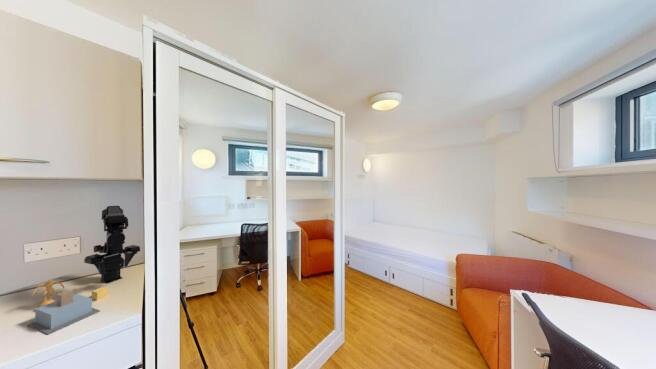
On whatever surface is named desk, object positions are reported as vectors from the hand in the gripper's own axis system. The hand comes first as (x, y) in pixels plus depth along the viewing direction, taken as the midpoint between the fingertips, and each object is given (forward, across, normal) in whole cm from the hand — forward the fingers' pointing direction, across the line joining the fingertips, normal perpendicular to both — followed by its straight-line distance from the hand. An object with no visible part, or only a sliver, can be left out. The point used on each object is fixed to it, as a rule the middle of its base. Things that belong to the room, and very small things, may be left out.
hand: (114, 270), depth 99 cm
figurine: (+12, +16, -12) cm, 23 cm away
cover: (+12, +17, +3) cm, 21 cm away
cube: (+12, +4, -2) cm, 13 cm away
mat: (+12, +17, +4) cm, 21 cm away
